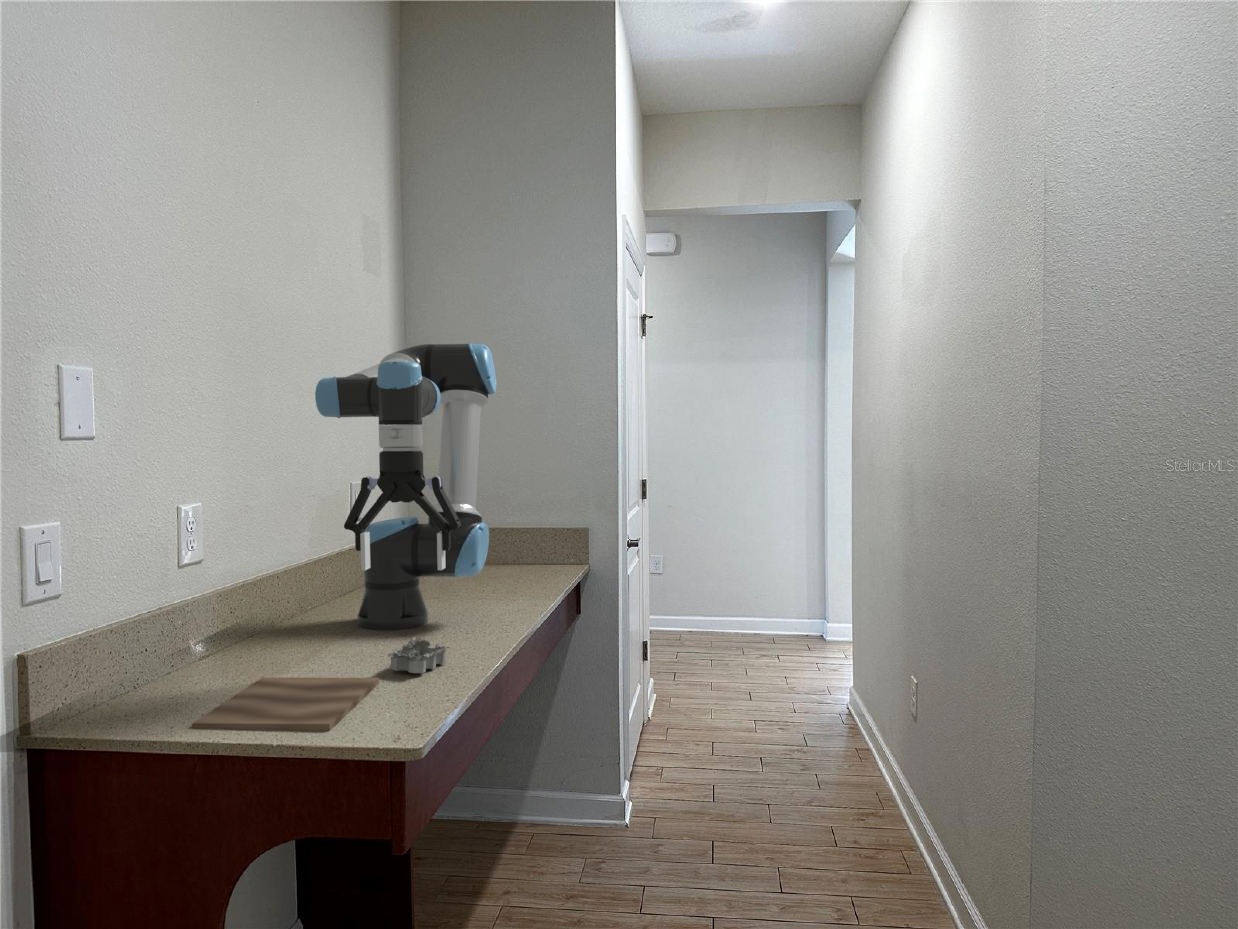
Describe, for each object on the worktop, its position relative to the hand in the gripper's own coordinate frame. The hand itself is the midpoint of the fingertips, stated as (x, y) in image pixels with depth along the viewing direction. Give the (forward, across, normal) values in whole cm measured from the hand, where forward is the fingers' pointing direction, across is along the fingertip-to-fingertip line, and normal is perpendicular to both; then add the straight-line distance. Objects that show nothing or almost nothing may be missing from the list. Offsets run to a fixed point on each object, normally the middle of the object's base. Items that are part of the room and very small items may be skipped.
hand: (403, 569), depth 151 cm
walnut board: (+18, -12, -20) cm, 29 cm away
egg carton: (+19, 0, 0) cm, 19 cm away
